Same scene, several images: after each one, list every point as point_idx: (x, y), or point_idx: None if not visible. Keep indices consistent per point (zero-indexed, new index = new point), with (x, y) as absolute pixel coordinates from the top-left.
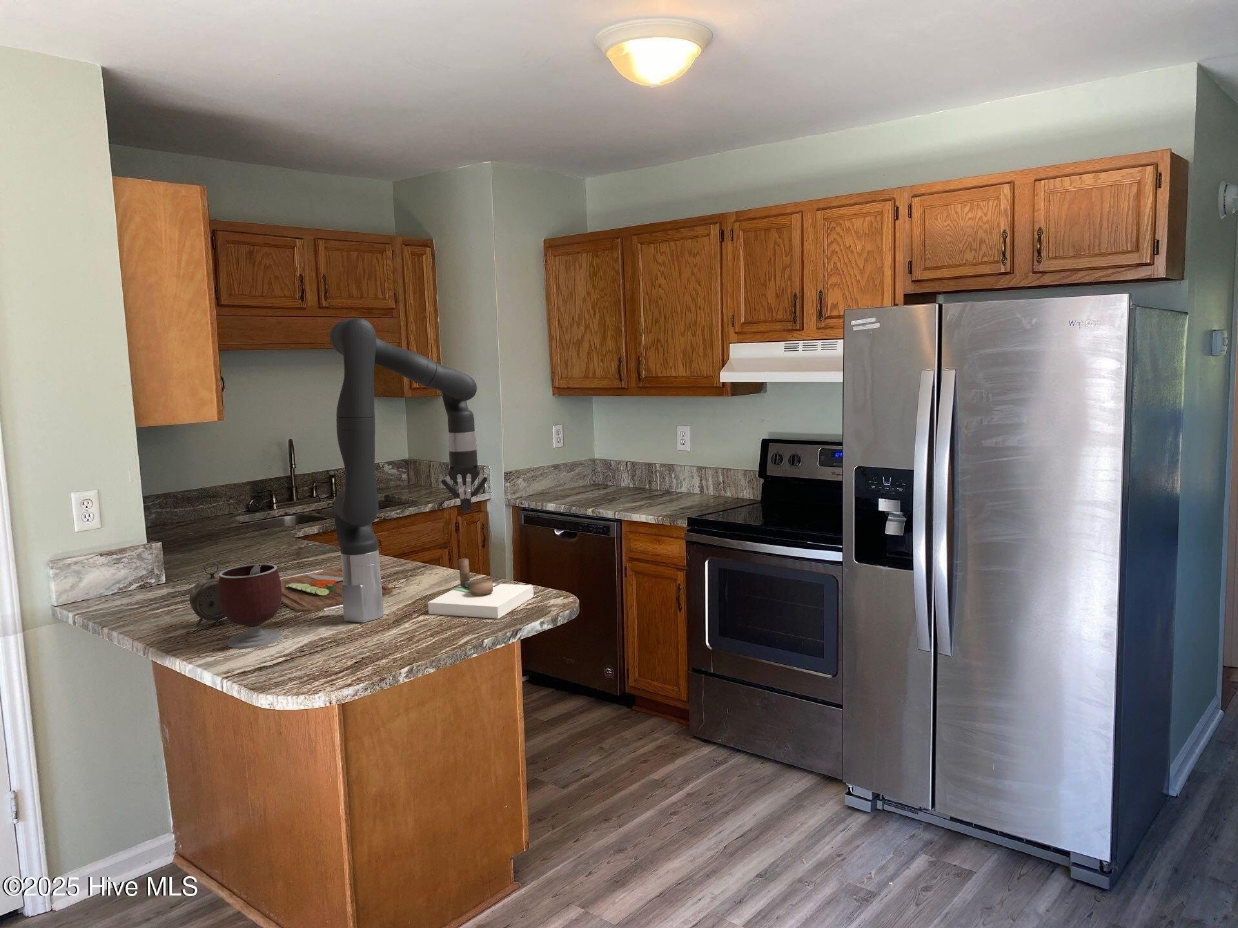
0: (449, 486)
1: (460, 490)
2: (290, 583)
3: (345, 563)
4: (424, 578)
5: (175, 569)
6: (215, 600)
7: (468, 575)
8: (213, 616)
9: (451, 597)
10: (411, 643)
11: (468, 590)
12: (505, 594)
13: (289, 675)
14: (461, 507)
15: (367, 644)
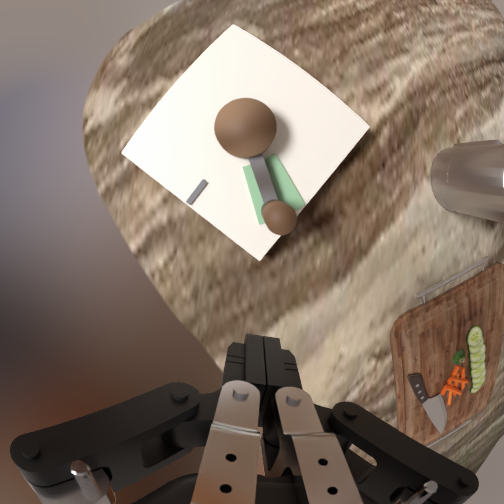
0: (412, 461)
1: (317, 432)
2: (470, 400)
3: None
4: (317, 394)
5: (486, 457)
6: None
7: (267, 203)
8: None
9: (318, 136)
10: (385, 4)
11: (272, 167)
12: (194, 100)
13: (486, 15)
14: (290, 360)
15: (440, 40)
